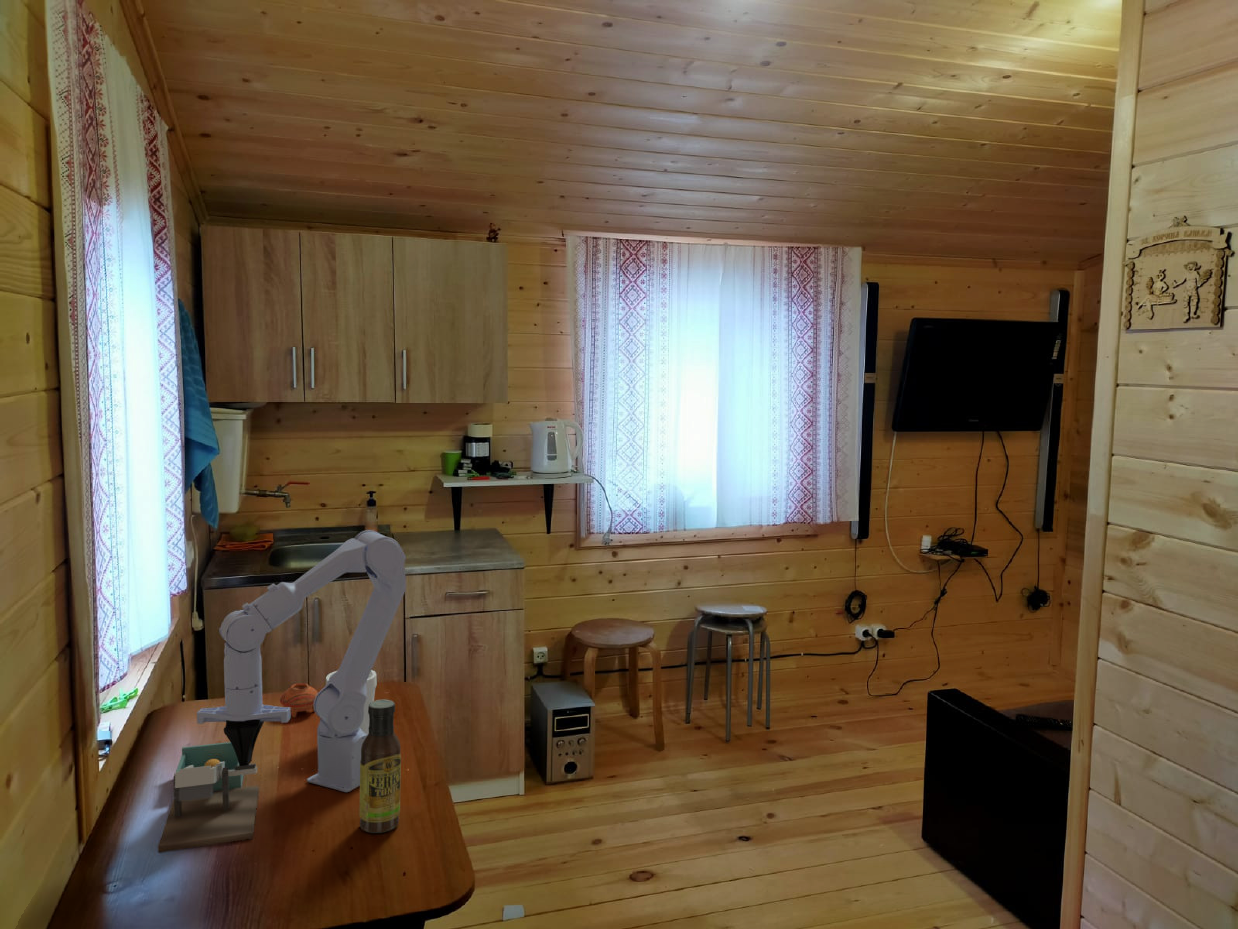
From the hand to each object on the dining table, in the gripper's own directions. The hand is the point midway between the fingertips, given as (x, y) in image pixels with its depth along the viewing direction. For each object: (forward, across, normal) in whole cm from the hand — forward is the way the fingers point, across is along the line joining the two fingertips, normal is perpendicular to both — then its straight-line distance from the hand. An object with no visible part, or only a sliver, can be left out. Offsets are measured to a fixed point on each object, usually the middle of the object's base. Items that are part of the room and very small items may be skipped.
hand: (245, 763), depth 148 cm
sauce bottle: (+6, -24, +10) cm, 27 cm away
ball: (+5, +9, -9) cm, 13 cm away
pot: (+7, +3, -40) cm, 41 cm away
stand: (+6, +3, +7) cm, 10 cm away
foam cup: (+6, -12, -25) cm, 28 cm away
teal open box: (+6, +8, -7) cm, 13 cm away
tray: (+2, +2, +6) cm, 7 cm away
